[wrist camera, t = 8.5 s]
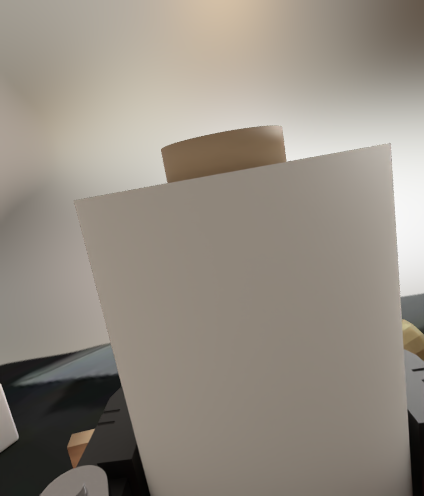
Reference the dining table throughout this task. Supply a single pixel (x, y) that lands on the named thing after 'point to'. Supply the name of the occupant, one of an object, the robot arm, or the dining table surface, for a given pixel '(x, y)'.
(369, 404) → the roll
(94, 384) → the dining table surface
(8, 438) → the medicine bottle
